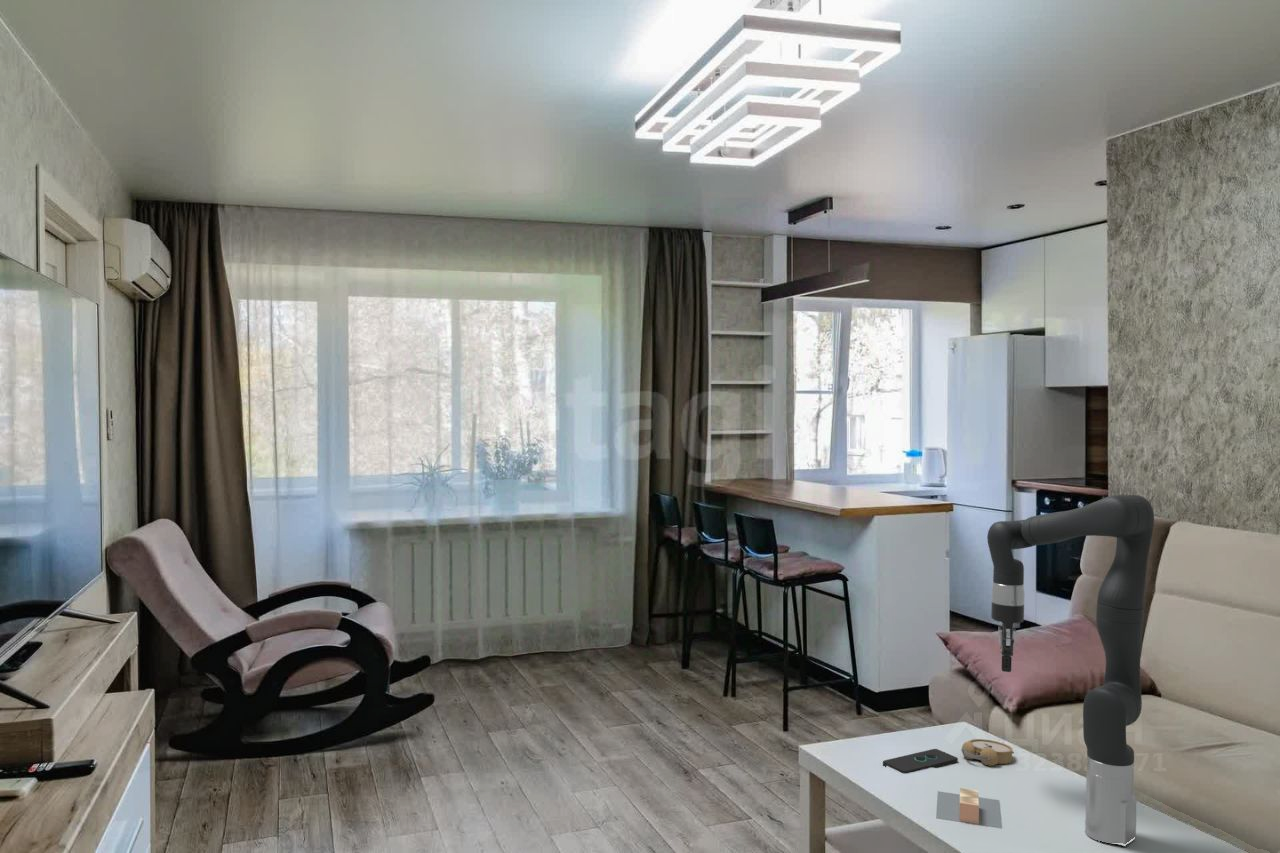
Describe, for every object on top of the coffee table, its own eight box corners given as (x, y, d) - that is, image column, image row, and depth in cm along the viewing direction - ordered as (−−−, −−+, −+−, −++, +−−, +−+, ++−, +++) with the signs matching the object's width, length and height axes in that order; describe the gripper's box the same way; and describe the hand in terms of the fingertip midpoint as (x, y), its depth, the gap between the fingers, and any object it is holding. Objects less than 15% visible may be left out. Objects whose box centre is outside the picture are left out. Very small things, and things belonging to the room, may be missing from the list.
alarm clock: (1021, 748, 247) (991, 750, 238) (1019, 767, 247) (989, 770, 238) (983, 736, 256) (953, 738, 247) (981, 754, 256) (951, 756, 246)
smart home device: (959, 757, 244) (904, 771, 234) (959, 764, 244) (904, 778, 234) (935, 747, 251) (881, 760, 241) (935, 753, 251) (881, 766, 241)
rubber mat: (999, 802, 219) (999, 800, 219) (1002, 830, 204) (1002, 828, 204) (937, 793, 223) (937, 791, 223) (936, 820, 208) (936, 818, 208)
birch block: (978, 790, 214) (979, 805, 206) (977, 807, 214) (978, 823, 206) (959, 787, 216) (959, 802, 207) (959, 805, 216) (959, 820, 207)
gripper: (1026, 607, 220) (1024, 679, 220) (1022, 597, 232) (1020, 665, 233) (992, 605, 222) (990, 676, 223) (990, 595, 235) (989, 662, 235)
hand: (1006, 670), depth 228 cm, fingers closed
